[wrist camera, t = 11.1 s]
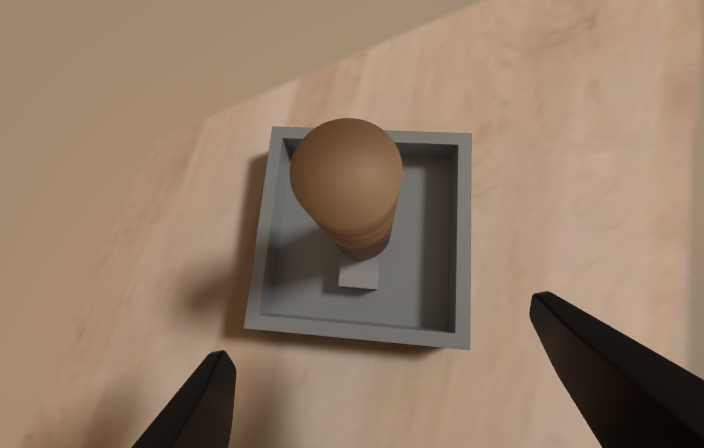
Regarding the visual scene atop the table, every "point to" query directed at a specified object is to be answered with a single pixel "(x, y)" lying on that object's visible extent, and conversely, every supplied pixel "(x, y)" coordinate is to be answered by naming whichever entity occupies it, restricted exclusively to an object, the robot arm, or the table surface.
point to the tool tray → (395, 260)
